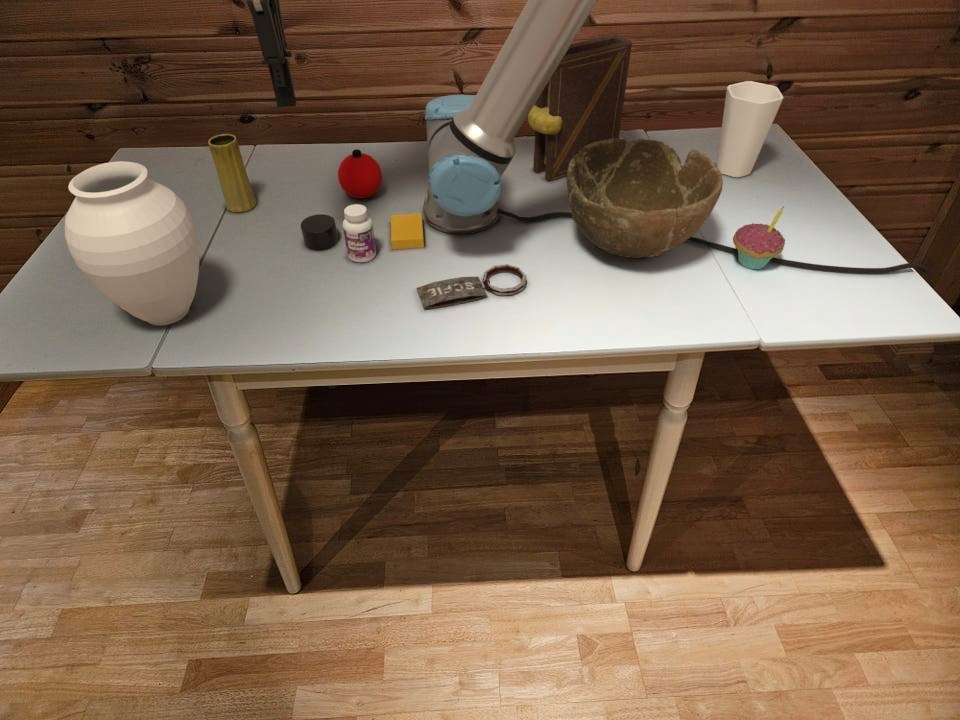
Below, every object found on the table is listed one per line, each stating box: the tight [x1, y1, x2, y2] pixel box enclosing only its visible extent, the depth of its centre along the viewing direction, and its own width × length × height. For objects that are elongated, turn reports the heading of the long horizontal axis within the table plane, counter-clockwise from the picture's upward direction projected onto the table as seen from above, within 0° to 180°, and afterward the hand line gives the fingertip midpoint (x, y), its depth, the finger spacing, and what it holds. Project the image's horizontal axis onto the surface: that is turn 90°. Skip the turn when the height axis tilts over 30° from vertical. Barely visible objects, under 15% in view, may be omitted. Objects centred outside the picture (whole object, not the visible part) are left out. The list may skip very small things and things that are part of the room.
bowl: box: [566, 137, 724, 259], centre depth 119 cm, size 28×27×15 cm
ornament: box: [337, 148, 383, 199], centre depth 134 cm, size 9×9×10 cm
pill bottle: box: [342, 203, 377, 263], centre depth 119 cm, size 5×5×10 cm
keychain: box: [415, 263, 527, 309], centre depth 113 cm, size 8×19×2 cm, turn 106°
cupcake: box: [732, 205, 786, 270], centre depth 115 cm, size 9×8×12 cm
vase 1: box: [64, 161, 200, 327], centre depth 102 cm, size 18×18×25 cm
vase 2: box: [207, 133, 257, 214], centre depth 131 cm, size 6×6×14 cm
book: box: [527, 34, 633, 182], centre depth 137 cm, size 22×8×25 cm, turn 120°
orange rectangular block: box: [390, 212, 425, 250], centre depth 126 cm, size 6×9×2 cm, turn 6°
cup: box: [716, 80, 784, 178], centre depth 138 cm, size 11×10×17 cm
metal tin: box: [300, 213, 339, 252], centre depth 124 cm, size 6×6×4 cm
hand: (287, 104), depth 101 cm, fingers closed
